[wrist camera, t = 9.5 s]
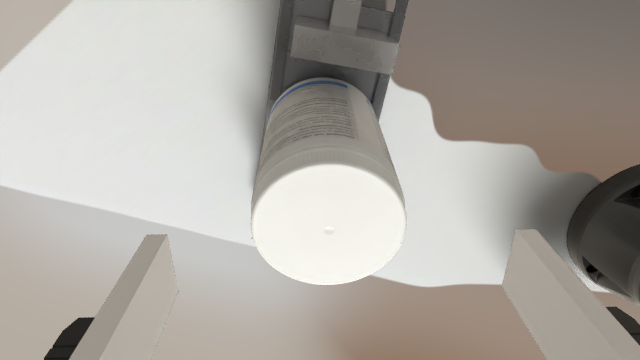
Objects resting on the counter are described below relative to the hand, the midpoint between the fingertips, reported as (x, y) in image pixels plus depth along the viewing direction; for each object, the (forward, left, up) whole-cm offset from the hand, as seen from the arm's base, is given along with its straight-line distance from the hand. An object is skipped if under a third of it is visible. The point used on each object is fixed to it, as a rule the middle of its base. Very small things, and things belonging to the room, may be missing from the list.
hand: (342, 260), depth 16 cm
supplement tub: (0, +2, -22) cm, 22 cm away
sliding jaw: (0, -8, -22) cm, 24 cm away
